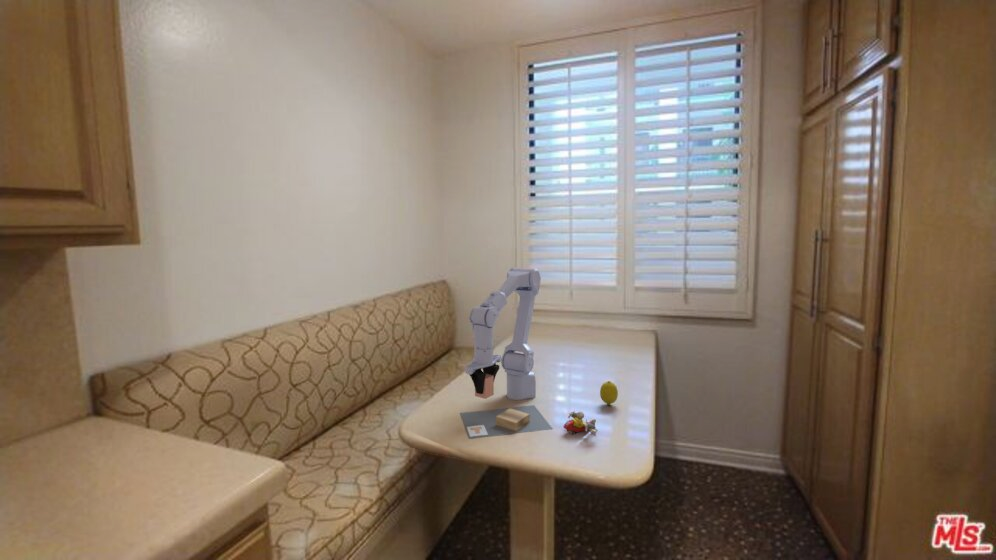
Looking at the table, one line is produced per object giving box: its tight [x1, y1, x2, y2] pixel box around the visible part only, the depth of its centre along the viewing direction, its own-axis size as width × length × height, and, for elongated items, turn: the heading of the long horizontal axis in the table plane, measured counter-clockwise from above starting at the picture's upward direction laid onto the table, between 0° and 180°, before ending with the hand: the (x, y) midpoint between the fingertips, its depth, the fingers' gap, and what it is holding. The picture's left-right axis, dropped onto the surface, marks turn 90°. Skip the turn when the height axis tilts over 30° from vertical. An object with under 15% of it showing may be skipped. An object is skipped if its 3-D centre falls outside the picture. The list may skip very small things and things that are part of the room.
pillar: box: [474, 374, 495, 400], centre depth 131 cm, size 4×4×6 cm
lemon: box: [599, 380, 619, 406], centre depth 141 cm, size 6×6×8 cm
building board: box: [459, 404, 554, 440], centre depth 129 cm, size 24×17×1 cm
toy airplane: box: [563, 410, 599, 436], centre depth 123 cm, size 9×9×6 cm
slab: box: [496, 407, 530, 431], centre depth 127 cm, size 7×7×2 cm
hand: (484, 390), depth 132 cm, fingers closed on pillar, 4 cm apart
